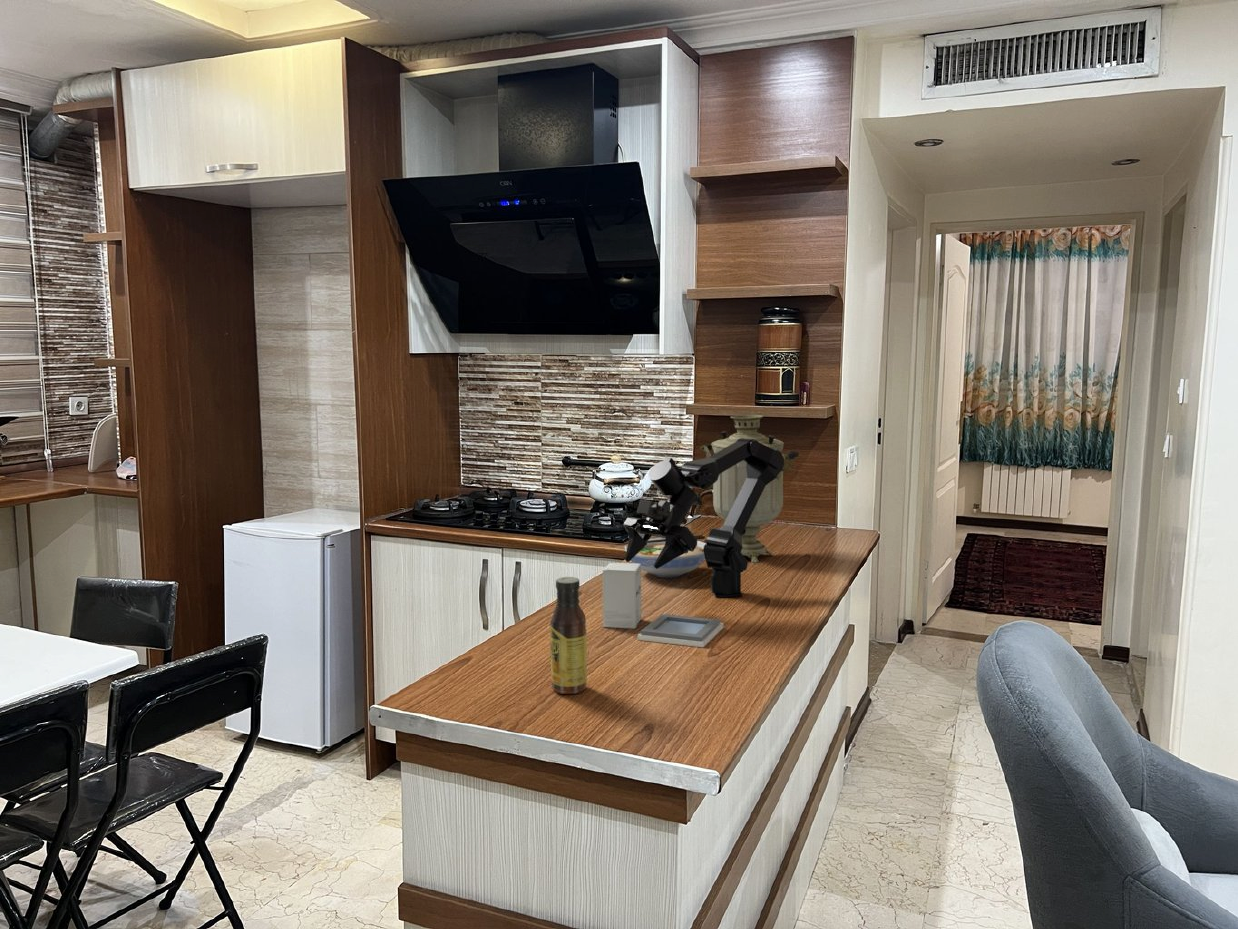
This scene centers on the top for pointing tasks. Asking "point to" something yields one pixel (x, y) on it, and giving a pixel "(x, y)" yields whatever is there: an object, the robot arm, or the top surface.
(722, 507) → the samovar
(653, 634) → the grey square tray
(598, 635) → the top surface
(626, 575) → the supplement box
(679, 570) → the ramen bowl
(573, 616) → the sauce bottle
